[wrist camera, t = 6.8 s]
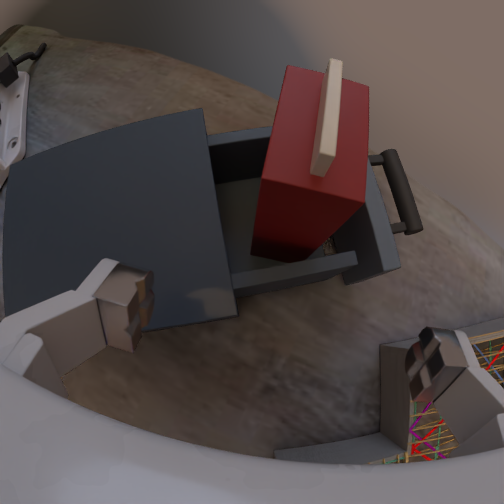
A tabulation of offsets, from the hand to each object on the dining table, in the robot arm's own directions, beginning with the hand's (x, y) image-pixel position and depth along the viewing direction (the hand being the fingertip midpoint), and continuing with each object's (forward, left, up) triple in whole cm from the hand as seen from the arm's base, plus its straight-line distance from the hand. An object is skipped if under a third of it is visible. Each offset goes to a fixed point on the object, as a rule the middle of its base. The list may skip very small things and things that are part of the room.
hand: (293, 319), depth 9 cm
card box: (-6, +3, -12) cm, 14 cm away
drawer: (-6, +3, -13) cm, 15 cm away
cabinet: (-6, -8, -14) cm, 18 cm away
